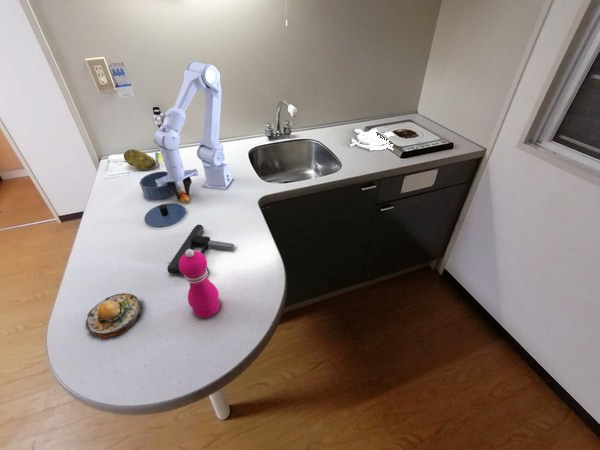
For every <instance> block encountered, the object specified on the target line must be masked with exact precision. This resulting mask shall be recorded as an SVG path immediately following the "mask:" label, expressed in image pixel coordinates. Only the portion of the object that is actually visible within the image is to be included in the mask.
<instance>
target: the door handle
mask: <svg viewBox="0 0 600 450" xmlns="http://www.w3.org/2000/svg"><path fill="white" fill-rule="evenodd" d="M204 230H205V228H204V226H203V225H202V224H196V225H195V226H194V227H193V228H191V231H190V233H189V234H188V236H187V237H186V238H185V240H184V241H183V243H182V245H181V246H180V248H179V250H178V251H177V252H176V254H175V255H174V256H173V258H172V259H171V261H170V262H169V263H168V265H167V267H166V268H167V272H168V273H169V274H172V275H175V274H176V275H183V274H182V273H181V271H180V269H179V260H180V258H181V257H182V255H184V254H185V252H186V250H188V249H192V250H193V248H199V249H201V250H200V252H201V253H202V254H203V255H204V256H205V254H206V253H207V251H208V250H209V249H215V250H222V251H229V252H234V249H235V244H234V243H232V242H225V241H219V240H211V237H210V236H204V235H202V234H203V233H204ZM206 268H207V271H208V272H209V267H208V266H207V267H206ZM183 276H184V275H183Z"/></svg>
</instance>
